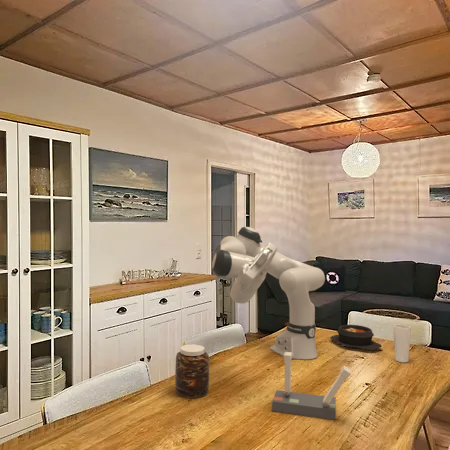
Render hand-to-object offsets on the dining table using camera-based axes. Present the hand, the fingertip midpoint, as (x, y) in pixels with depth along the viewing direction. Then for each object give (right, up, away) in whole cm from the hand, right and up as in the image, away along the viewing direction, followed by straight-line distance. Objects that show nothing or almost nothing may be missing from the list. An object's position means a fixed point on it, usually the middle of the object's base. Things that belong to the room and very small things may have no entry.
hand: (266, 251), depth 135 cm
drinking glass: (+62, -50, +39) cm, 88 cm away
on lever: (+17, -45, -12) cm, 50 cm away
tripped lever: (+6, -45, -5) cm, 46 cm away
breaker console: (+11, -49, -8) cm, 51 cm away
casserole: (+49, -50, +60) cm, 92 cm away
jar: (-25, -49, +4) cm, 55 cm away
